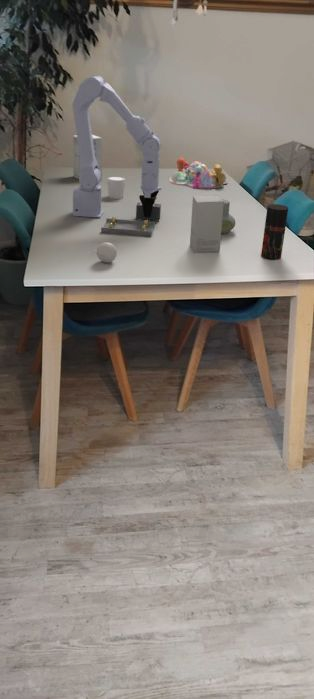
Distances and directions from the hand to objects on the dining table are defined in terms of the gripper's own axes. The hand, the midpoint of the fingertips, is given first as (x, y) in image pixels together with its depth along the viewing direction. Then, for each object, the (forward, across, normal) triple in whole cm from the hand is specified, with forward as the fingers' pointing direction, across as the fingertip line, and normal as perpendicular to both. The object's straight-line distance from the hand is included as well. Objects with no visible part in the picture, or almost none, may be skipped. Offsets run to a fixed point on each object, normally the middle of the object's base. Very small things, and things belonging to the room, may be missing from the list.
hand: (148, 213), depth 220 cm
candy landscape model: (+2, +60, -15) cm, 62 cm away
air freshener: (+2, -8, -24) cm, 25 cm away
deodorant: (+2, -30, -40) cm, 50 cm away
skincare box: (+2, -28, -20) cm, 34 cm away
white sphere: (+2, -46, +8) cm, 47 cm away
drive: (+2, 0, 0) cm, 2 cm away
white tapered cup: (+2, +26, +15) cm, 30 cm away
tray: (+2, -14, +5) cm, 15 cm away
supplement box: (+2, +53, +31) cm, 61 cm away
